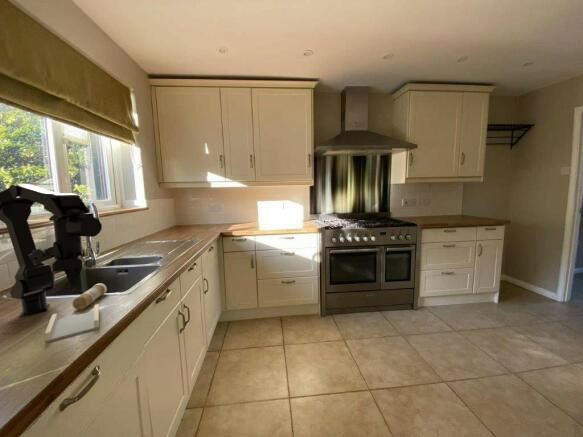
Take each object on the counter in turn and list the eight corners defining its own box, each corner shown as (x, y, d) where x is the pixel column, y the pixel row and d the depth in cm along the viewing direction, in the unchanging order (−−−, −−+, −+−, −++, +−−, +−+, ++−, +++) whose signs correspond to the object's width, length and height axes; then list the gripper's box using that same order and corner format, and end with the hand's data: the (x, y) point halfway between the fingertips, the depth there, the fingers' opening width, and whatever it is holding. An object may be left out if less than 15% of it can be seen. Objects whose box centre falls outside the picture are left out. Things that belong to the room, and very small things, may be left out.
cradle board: (53, 322, 75) (52, 314, 75) (99, 311, 81) (98, 304, 81) (45, 342, 65) (44, 333, 64) (99, 328, 71) (98, 319, 71)
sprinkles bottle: (82, 312, 83) (102, 296, 96) (90, 301, 83) (109, 286, 96) (68, 306, 82) (91, 290, 95) (76, 294, 82) (98, 280, 95)
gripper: (36, 234, 77) (42, 283, 79) (21, 244, 62) (29, 303, 64) (83, 230, 84) (87, 275, 86) (79, 238, 69) (85, 292, 71)
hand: (73, 285), depth 76 cm, fingers closed
